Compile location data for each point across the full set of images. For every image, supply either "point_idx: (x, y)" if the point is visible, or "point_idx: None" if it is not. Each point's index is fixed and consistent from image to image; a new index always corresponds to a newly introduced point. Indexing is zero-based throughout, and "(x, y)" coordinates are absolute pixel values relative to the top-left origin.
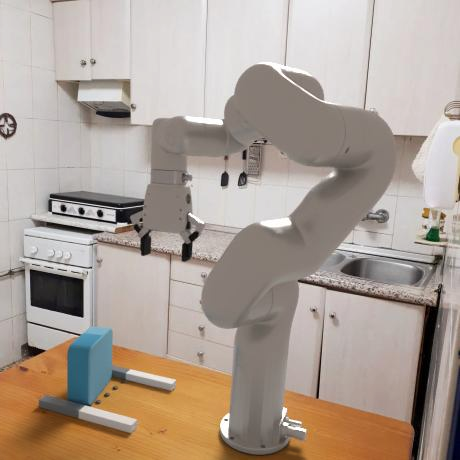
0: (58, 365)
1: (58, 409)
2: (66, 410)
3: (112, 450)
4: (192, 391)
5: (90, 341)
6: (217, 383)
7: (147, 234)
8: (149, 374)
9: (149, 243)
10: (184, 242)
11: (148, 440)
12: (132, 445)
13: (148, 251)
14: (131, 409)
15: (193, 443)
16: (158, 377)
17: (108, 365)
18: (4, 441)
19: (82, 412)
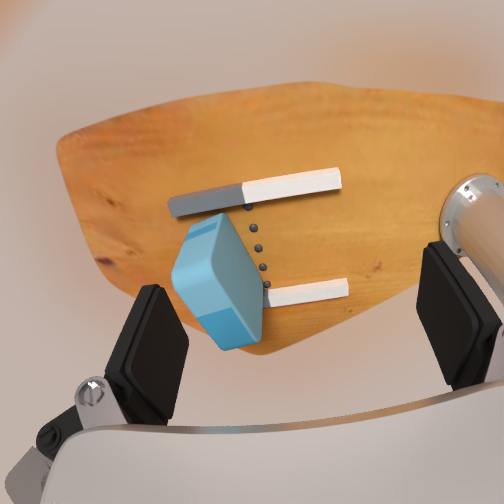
0: (124, 228)
1: None
2: None
3: (344, 314)
4: (370, 165)
5: (238, 332)
6: (394, 118)
7: (137, 416)
8: (285, 182)
9: (153, 350)
10: (461, 379)
11: (371, 287)
12: (359, 300)
13: (169, 318)
14: (315, 254)
15: (418, 265)
16: (307, 182)
17: (229, 240)
18: (241, 349)
19: (276, 305)
